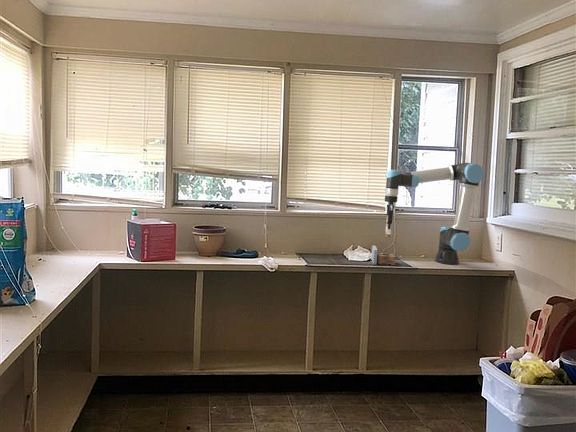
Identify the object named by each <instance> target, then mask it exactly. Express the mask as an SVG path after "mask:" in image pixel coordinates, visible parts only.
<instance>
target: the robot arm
mask: <svg viewBox="0 0 576 432" xmlns="http://www.w3.org/2000/svg"><path fill="white" fill-rule="evenodd" d="M484 172H485V171H484V169H483V167H482V165H480V164H478V163H474V162H461V163H456V164H451V165H448V166H447V167H440V168H432V169H426V170H417V171H408V172H401V171H400V170H398V169H388V170H387V174H386V183H385V184H386V185H385V189H384V192H385V193H384V194H385V196H384V201H385V202H386V203H387V204H386V217H385V222H386V220H387V216H388V222H386V223H385V225H386V224H387V228H386V227H385V232H386V234H390V235H391V236H392V224H393V217H394V216H393V215H394V209H395V205H394V203H397V202H398V198H399V197H398V195H399V187H404V188H405V187H408V188H409V187H410V188H417V187H418V186H419V184H422V183H431V182H438V181H446V180H450V181H451V182H452V181H458V184H459V186H460V190H459V195H458V200H457V204H456V210H455V214H454V215H455V216H454V221H453V225H451V226H441V227H440V230H439V242H438V250H437V252H436V253H435V256H434V262H436V263H437V264H438V263H439V264H444V265H458V264H459V265H460V263H459V262H460V259H459V254H458V252H462V251H464V250H467V249H468V247H470V246H471V238H470V229H469V222H470V216H471V212H472V206H473V201H474V196H475V192H476V189H477V188H479V185H480V182H481V181H482V180H483V179H484V175H485V173H484Z"/></svg>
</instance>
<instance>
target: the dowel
mask: <svg viewBox="0 0 576 432" xmlns="http://www.w3.org/2000/svg"><path fill="white" fill-rule="evenodd" d="M386 217H387V220H386V219H385V222H388V216H387V215H386ZM386 228H387V224H386V223H385V229H386ZM384 235H385V236H384V237H385V238H391V236H392V234H391V235H390V234H386V231H385V233H384Z"/></svg>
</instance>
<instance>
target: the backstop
mask: <svg viewBox="0 0 576 432" xmlns="http://www.w3.org/2000/svg"><path fill="white" fill-rule="evenodd" d="M378 251H379V250H378V248H377V246H376V245H371V254H370V261H371V260H372V261H371V263H372V265H373V264H375V266H376V265H377V264H378V262H377V253H379V252H378Z"/></svg>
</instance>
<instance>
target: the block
mask: <svg viewBox="0 0 576 432" xmlns="http://www.w3.org/2000/svg"><path fill="white" fill-rule="evenodd" d="M377 264H380V265H388V264H391V266H395V265H396V256H395V254H394V253H387V252H377Z"/></svg>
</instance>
